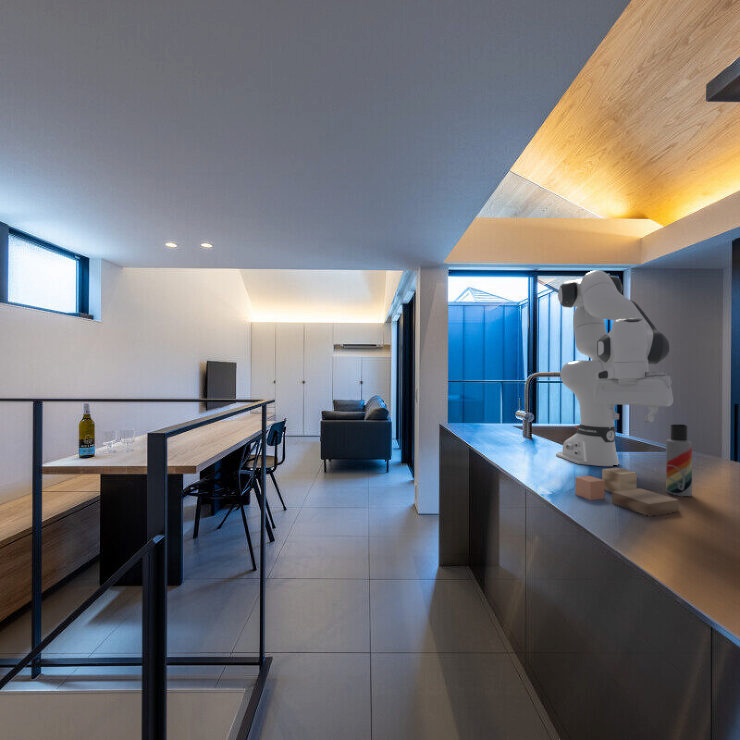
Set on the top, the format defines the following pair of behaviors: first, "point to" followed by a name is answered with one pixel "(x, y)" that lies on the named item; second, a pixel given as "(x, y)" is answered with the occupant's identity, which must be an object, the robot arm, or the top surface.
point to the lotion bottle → (679, 461)
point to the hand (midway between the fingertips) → (631, 420)
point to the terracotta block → (590, 487)
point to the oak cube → (619, 479)
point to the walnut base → (645, 501)
